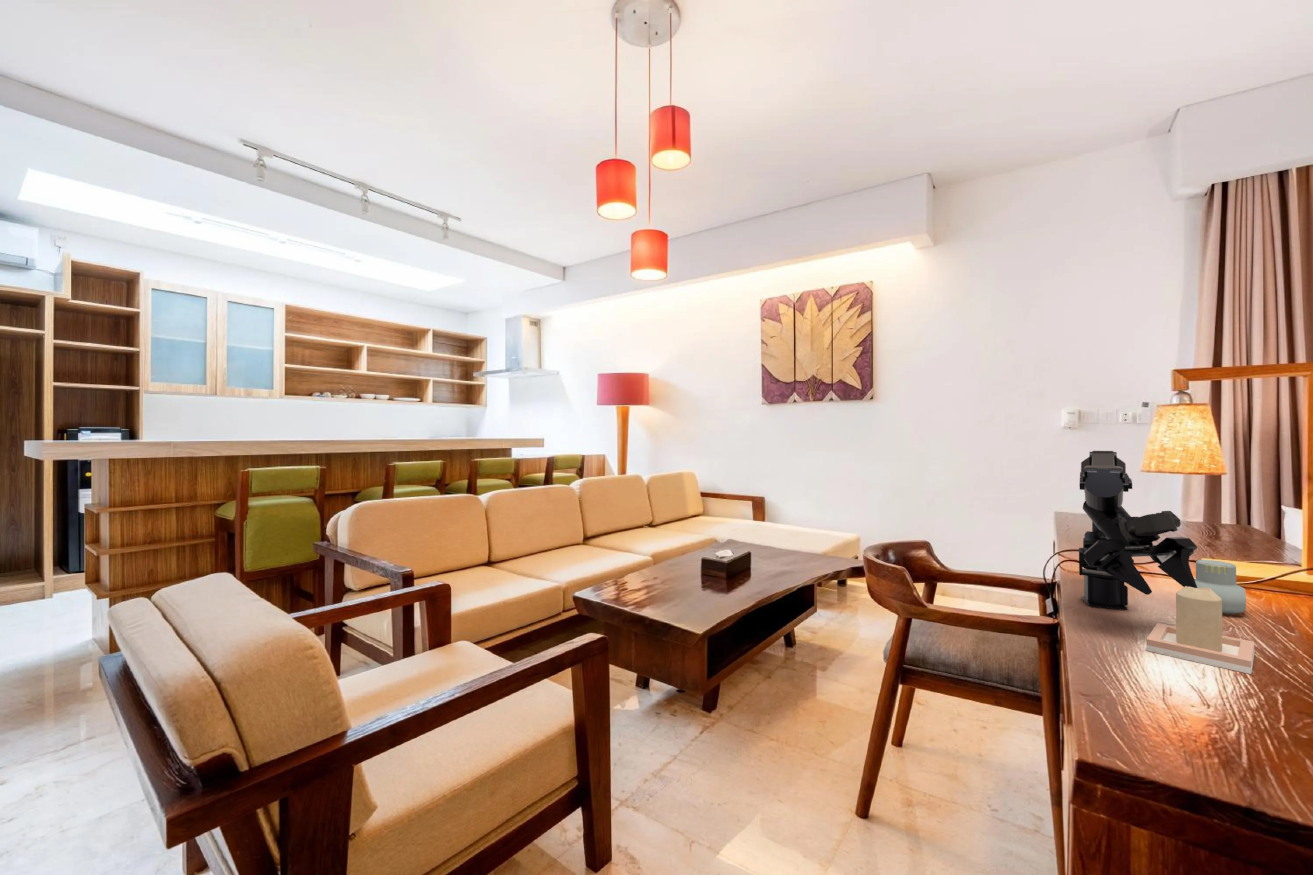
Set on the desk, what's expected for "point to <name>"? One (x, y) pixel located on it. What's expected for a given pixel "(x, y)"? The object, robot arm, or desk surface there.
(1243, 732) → the desk surface
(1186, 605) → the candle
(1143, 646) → the desk surface
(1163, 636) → the tray
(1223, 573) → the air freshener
